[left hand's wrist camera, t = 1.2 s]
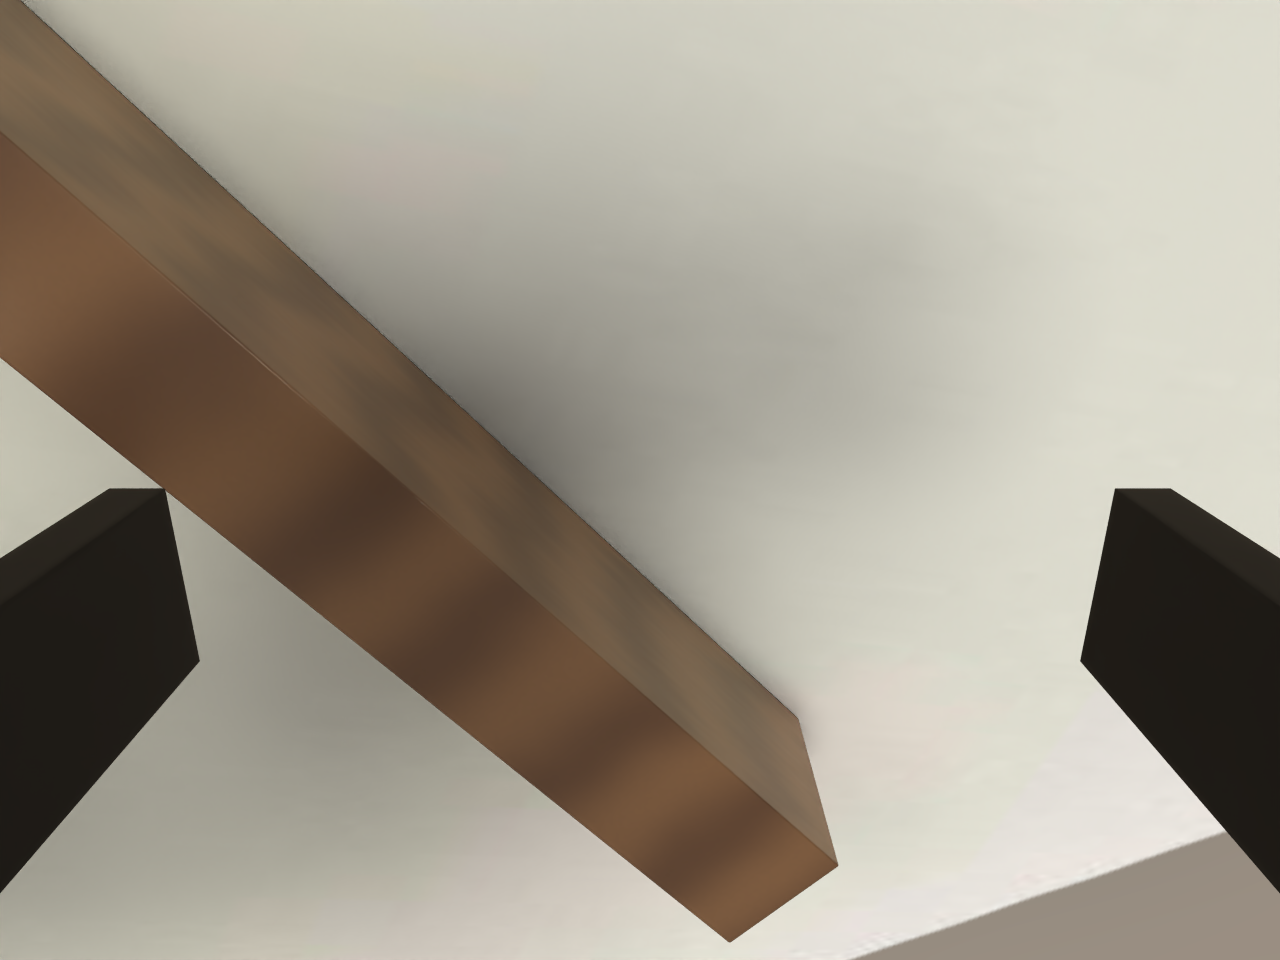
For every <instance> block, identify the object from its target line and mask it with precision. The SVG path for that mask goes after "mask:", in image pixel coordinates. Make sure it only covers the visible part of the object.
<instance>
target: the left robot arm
mask: <svg viewBox="0 0 1280 960" xmlns="http://www.w3.org/2000/svg"><path fill="white" fill-rule="evenodd" d="M199 661H200V660H199V655H198V650H197V645H196V640H195V635H194V630H193V625H192V620H191V615H190V610H189V605H188V600H187V595H186V590H185V585H184V581H183V576H182V571H181V566H180V561H179V556H178V551H177V546H176V541H175V536H174V531H173V526H172V521H171V516H170V511H169V506H168V501H167V496H166V491H165V489H108V490H106V491H105V492H103V493H102V494H100V495H99V496H97V497H95V498H94V499H92V500H91V501H89V502H88V503H86V504H84V505H83V506H81V507H80V508H78V509H77V510H75V511H74V512H72V513H70V514H69V515H67V516H66V517H64V518H63V519H61V520H59V521H58V522H56V523H55V524H53V525H52V526H50V527H49V528H47V529H45V530H44V531H42V532H41V533H39V534H38V535H36V536H34V537H33V538H31V539H30V540H28V541H27V542H25V543H24V544H22V545H20V546H19V547H17V548H16V549H14V550H13V551H11V552H9V553H8V554H6V555H5V556H3V557H2V558H0V893H1V892H2V891H3V889H4V888H5V887H6V886H7V885H8V884H9V882H10V881H11V880H12V879H13V878H14V877H15V875H16V874H17V873H18V872H19V871H20V870H21V868H22V867H23V866H24V865H25V864H26V863H27V861H28V860H29V859H30V858H31V857H32V856H33V854H34V853H35V852H36V851H37V850H38V849H39V847H40V846H41V845H42V844H43V843H44V842H45V841H46V839H47V838H48V837H49V836H50V835H51V834H52V832H53V831H54V830H55V829H56V828H57V827H58V825H59V824H60V823H61V822H62V821H63V820H64V818H65V817H66V816H67V815H68V814H69V813H70V811H71V810H72V809H73V808H74V807H75V806H76V804H77V803H78V802H79V801H80V800H81V799H82V797H83V796H84V795H85V794H86V793H87V792H88V791H89V789H90V788H91V787H92V786H93V785H94V784H95V782H96V781H97V780H98V779H99V778H100V777H101V775H102V774H103V773H104V772H105V771H106V770H107V768H108V767H109V766H110V765H111V764H112V763H113V761H114V760H115V759H116V758H117V757H118V756H119V754H120V753H121V752H122V751H123V750H124V749H125V747H126V746H127V745H128V744H129V743H130V742H131V740H132V739H133V738H134V737H135V736H136V735H137V734H138V732H139V731H140V730H141V729H142V728H143V727H144V725H145V724H146V723H147V722H148V721H149V720H150V718H151V717H152V716H153V715H154V714H155V713H156V711H157V710H158V709H159V708H160V707H161V706H162V704H163V703H164V702H165V701H166V700H167V699H168V697H169V696H170V695H171V694H172V693H173V692H174V690H175V689H176V688H177V687H178V686H179V685H180V684H181V682H182V681H183V680H184V679H185V678H186V677H187V675H188V674H189V673H190V672H191V671H192V670H193V668H194V667H195V666H196V665H197V664H198V663H199ZM1080 661H1081V663H1082V664H1083V665H1084V666H1085V667H1086V668H1087V670H1088V671H1089V672H1090V673H1091V674H1092V675H1093V677H1094V678H1095V679H1096V680H1097V681H1098V682H1099V684H1100V685H1101V686H1102V687H1103V688H1104V689H1105V690H1106V692H1107V693H1108V694H1109V695H1110V696H1111V697H1112V699H1113V700H1114V701H1115V702H1116V703H1117V704H1118V706H1119V707H1120V708H1121V709H1122V710H1123V711H1124V713H1125V714H1126V715H1127V716H1128V717H1129V718H1130V720H1131V721H1132V722H1133V723H1134V724H1135V725H1136V727H1137V728H1138V729H1139V730H1140V731H1141V732H1142V734H1143V735H1144V736H1145V737H1146V738H1147V739H1148V740H1149V742H1150V743H1151V744H1152V745H1153V746H1154V747H1155V749H1156V750H1157V751H1158V752H1159V753H1160V754H1161V756H1162V757H1163V758H1164V759H1165V760H1166V761H1167V763H1168V764H1169V765H1170V766H1171V767H1172V768H1173V770H1174V771H1175V772H1176V773H1177V774H1178V775H1179V777H1180V778H1181V779H1182V780H1183V781H1184V782H1185V784H1186V785H1187V786H1188V787H1189V788H1190V789H1191V791H1192V792H1193V793H1194V794H1195V795H1196V796H1197V797H1198V799H1199V800H1200V801H1201V802H1202V803H1203V804H1204V806H1205V807H1206V808H1207V809H1208V810H1209V811H1210V813H1211V814H1212V815H1213V816H1214V817H1215V818H1216V820H1217V821H1218V822H1219V823H1220V824H1221V825H1222V827H1223V828H1224V829H1225V830H1226V831H1227V832H1228V834H1229V835H1230V836H1231V837H1232V838H1233V839H1234V840H1235V842H1236V843H1237V844H1238V845H1239V846H1240V847H1241V849H1242V850H1243V851H1244V852H1245V853H1246V854H1247V856H1248V857H1249V858H1250V859H1251V860H1252V861H1253V863H1254V864H1255V865H1256V866H1257V867H1258V868H1259V870H1260V871H1261V872H1262V873H1263V874H1264V875H1265V877H1266V878H1267V879H1268V880H1269V881H1270V882H1271V883H1272V885H1273V886H1274V887H1275V888H1276V889H1277V891H1278V892H1279V893H1280V558H1278V557H1277V556H1275V555H1274V554H1272V553H1271V552H1269V551H1267V550H1266V549H1264V548H1263V547H1261V546H1260V545H1258V544H1256V543H1255V542H1253V541H1252V540H1250V539H1249V538H1247V537H1246V536H1244V535H1242V534H1241V533H1239V532H1238V531H1236V530H1235V529H1233V528H1231V527H1230V526H1228V525H1227V524H1225V523H1224V522H1222V521H1221V520H1219V519H1217V518H1216V517H1214V516H1213V515H1211V514H1210V513H1208V512H1206V511H1205V510H1203V509H1202V508H1200V507H1199V506H1197V505H1196V504H1194V503H1192V502H1191V501H1189V500H1188V499H1186V498H1185V497H1183V496H1181V495H1180V494H1178V493H1177V492H1175V491H1174V490H1172V489H1115V491H1114V496H1113V501H1112V506H1111V511H1110V516H1109V521H1108V526H1107V531H1106V536H1105V541H1104V546H1103V551H1102V556H1101V561H1100V566H1099V571H1098V576H1097V581H1096V585H1095V590H1094V595H1093V600H1092V605H1091V610H1090V615H1089V620H1088V625H1087V630H1086V635H1085V640H1084V645H1083V650H1082V655H1081V660H1080Z"/></svg>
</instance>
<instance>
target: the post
mask: <svg viewBox="0 0 1280 960" xmlns="http://www.w3.org/2000/svg"><path fill="white" fill-rule="evenodd" d="M0 358H1V359H3V360H4V361H5V362H6V363H8V364H9V365H10V366H11V367H13V368H14V369H15V370H16V371H18V372H19V373H20V374H21V375H23V376H24V377H25V378H26V379H28V380H29V381H30V382H31V383H33V384H34V385H35V386H36V387H38V388H39V389H40V390H41V391H43V392H44V393H45V394H46V395H48V396H49V397H50V398H51V399H52V400H54V401H55V402H56V403H57V404H59V405H60V406H61V407H62V408H64V409H65V410H66V411H67V412H69V413H70V414H71V415H72V416H74V417H75V418H76V419H77V420H79V421H80V422H81V423H82V424H84V425H85V426H86V427H87V428H89V429H90V430H91V431H92V432H94V433H95V434H96V435H97V436H99V437H100V438H101V439H102V440H104V441H105V442H106V443H107V444H109V445H110V446H111V447H112V448H114V449H115V450H116V451H117V452H119V453H120V454H121V455H122V456H124V457H125V458H126V459H127V460H129V461H130V462H131V463H132V464H133V465H135V466H136V467H137V468H138V469H140V470H141V471H142V472H143V473H145V474H146V475H147V476H148V477H150V478H151V479H152V480H153V481H155V482H156V483H157V484H158V485H160V486H161V487H162V488H163V489H165V490H166V491H167V492H168V493H170V494H171V495H172V496H173V497H175V498H176V499H177V500H178V501H180V502H181V503H182V504H183V505H185V506H186V507H187V508H188V509H190V510H191V511H192V512H193V513H195V514H196V515H197V516H198V517H200V518H201V519H202V520H203V521H205V522H206V523H207V524H208V525H210V526H211V527H212V528H213V529H214V530H216V531H217V532H218V533H219V534H221V535H222V536H223V537H224V538H226V539H227V540H228V541H229V542H231V543H232V544H233V545H234V546H236V547H237V548H238V549H239V550H241V551H242V552H243V553H244V554H246V555H247V556H248V557H249V558H251V559H252V560H253V561H254V562H256V563H257V564H258V565H259V566H261V567H262V568H263V569H264V570H266V571H267V572H268V573H269V574H271V575H272V576H273V577H274V578H276V579H277V580H278V581H279V582H281V583H282V584H283V585H284V586H286V587H287V588H288V589H289V590H291V591H292V592H293V593H294V594H295V595H297V596H298V597H299V598H300V599H302V600H303V601H304V602H305V603H307V604H308V605H309V606H310V607H312V608H313V609H314V610H315V611H317V612H318V613H319V614H320V615H322V616H323V617H324V618H325V619H327V620H328V621H329V622H330V623H332V624H333V625H334V626H335V627H337V628H338V629H339V630H340V631H342V632H343V633H344V634H345V635H347V636H348V637H349V638H350V639H352V640H353V641H354V642H355V643H357V644H358V645H359V646H360V647H362V648H363V649H364V650H365V651H367V652H368V653H369V654H370V655H372V656H373V657H374V658H375V659H377V660H378V661H379V662H380V663H381V664H383V665H384V666H385V667H386V668H388V669H389V670H390V671H391V672H393V673H394V674H395V675H396V676H398V677H399V678H400V679H401V680H403V681H404V682H405V683H406V684H408V685H409V686H410V687H411V688H413V689H414V690H415V691H416V692H418V693H419V694H420V695H421V696H423V697H424V698H425V699H426V700H428V701H429V702H430V703H431V704H433V705H434V706H435V707H436V708H438V709H439V710H440V711H441V712H443V713H444V714H445V715H446V716H448V717H449V718H450V719H451V720H453V721H454V722H455V723H456V724H458V725H459V726H460V727H461V728H462V729H464V730H465V731H466V732H467V733H469V734H470V735H471V736H472V737H474V738H475V739H476V740H477V741H479V742H480V743H481V744H482V745H484V746H485V747H486V748H487V749H489V750H490V751H491V752H492V753H494V754H495V755H496V756H497V757H499V758H500V759H501V760H502V761H504V762H505V763H506V764H507V765H509V766H510V767H511V768H512V769H514V770H515V771H516V772H517V773H519V774H520V775H521V776H522V777H524V778H525V779H526V780H527V781H529V782H530V783H531V784H532V785H534V786H535V787H536V788H537V789H539V790H540V791H541V792H542V793H543V794H545V795H546V796H547V797H548V798H550V799H551V800H552V801H553V802H555V803H556V804H557V805H558V806H560V807H561V808H562V809H563V810H565V811H566V812H567V813H568V814H570V815H571V816H572V817H573V818H575V819H576V820H577V821H578V822H580V823H581V824H582V825H583V826H585V827H586V828H587V829H588V830H590V831H591V832H592V833H593V834H595V835H596V836H597V837H598V838H600V839H601V840H602V841H603V842H605V843H606V844H607V845H608V846H610V847H611V848H612V849H613V850H615V851H616V852H617V853H618V854H620V855H621V856H622V857H623V858H624V859H626V860H627V861H628V862H629V863H631V864H632V865H633V866H634V867H636V868H637V869H638V870H639V871H641V872H642V873H643V874H644V875H646V876H647V877H648V878H649V879H651V880H652V881H653V882H654V883H656V884H657V885H658V886H659V887H661V888H662V889H663V890H664V891H666V892H667V893H668V894H669V895H671V896H672V897H673V898H674V899H676V900H677V901H678V902H679V903H681V904H682V905H683V906H684V907H686V908H687V909H688V910H689V911H691V912H692V913H693V914H694V915H696V916H697V917H698V918H699V919H701V920H702V921H703V922H704V923H705V924H707V925H708V926H709V927H710V928H712V929H713V930H714V931H715V932H717V933H718V934H719V935H720V936H722V937H723V938H724V939H725V940H727V941H728V942H732V941H733V940H734V939H736V938H737V937H739V936H740V935H742V934H743V933H744V932H746V931H747V930H749V929H750V928H751V927H753V926H754V925H756V924H757V923H759V922H760V921H761V920H763V919H764V918H766V917H767V916H768V915H770V914H771V913H773V912H774V911H775V910H777V909H778V908H780V907H781V906H783V905H784V904H785V903H787V902H788V901H790V900H791V899H792V898H794V897H795V896H797V895H798V894H799V893H801V892H802V891H804V890H805V889H807V888H808V887H809V886H811V885H812V884H814V883H815V882H816V881H818V880H819V879H821V878H822V877H823V876H825V875H826V874H828V873H829V872H831V871H832V870H833V869H835V868H836V867H838V862H837V858H836V855H835V851H834V847H833V844H832V840H831V837H830V833H829V829H828V826H827V822H826V818H825V815H824V811H823V807H822V804H821V800H820V797H819V793H818V789H817V786H816V782H815V778H814V775H813V771H812V767H811V764H810V760H809V757H808V753H807V749H806V746H805V742H804V738H803V735H802V731H801V728H800V724H799V720H798V718H797V717H795V716H794V715H793V714H792V713H791V712H790V711H789V710H788V709H787V708H786V707H785V706H784V705H782V704H781V703H780V702H779V701H778V700H777V699H776V698H775V697H774V696H773V695H772V694H771V693H769V692H768V691H767V690H766V689H765V688H764V687H763V686H762V685H761V684H760V683H759V682H758V681H756V680H755V679H754V678H753V677H752V676H751V675H750V674H749V673H748V672H747V671H746V670H745V669H743V668H742V667H741V666H740V665H739V664H738V663H737V662H736V661H735V660H734V659H733V658H732V657H730V656H729V655H728V654H727V653H726V652H725V651H724V650H723V649H722V648H721V647H720V646H719V645H717V644H716V643H715V642H714V641H713V640H712V639H711V638H710V637H709V636H708V635H707V634H706V633H704V632H703V631H702V630H701V629H700V628H699V627H698V626H697V625H696V624H695V623H694V622H693V621H691V620H690V619H689V618H688V617H687V616H686V615H685V614H684V613H683V612H682V611H681V610H680V609H679V608H677V607H676V606H675V605H674V604H673V603H672V602H671V601H670V600H669V599H668V598H667V597H666V596H664V595H663V594H662V593H661V592H660V591H659V590H658V589H657V588H656V587H655V586H654V585H653V584H651V583H650V582H649V581H648V580H647V579H646V578H645V577H644V576H643V575H642V574H641V573H640V572H638V571H637V570H636V569H635V568H634V567H633V566H632V565H631V564H630V563H629V562H628V561H627V560H625V559H624V558H623V557H622V556H621V555H620V554H619V553H618V552H617V551H616V550H615V549H614V548H612V547H611V546H610V545H609V544H608V543H607V542H606V541H605V540H604V539H603V538H602V537H601V536H599V535H598V534H597V533H596V532H595V531H594V530H593V529H592V528H591V527H590V526H589V525H588V524H586V523H585V522H584V521H583V520H582V519H581V518H580V517H579V516H578V515H577V514H576V513H575V512H573V511H572V510H571V509H570V508H569V507H568V506H567V505H566V504H565V503H564V502H563V501H562V500H560V499H559V498H558V497H557V496H556V495H555V494H554V493H553V492H552V491H551V490H550V489H549V488H547V487H546V486H545V485H544V484H543V483H542V482H541V481H540V480H539V479H538V478H537V477H536V476H534V475H533V474H532V473H531V472H530V471H529V470H528V469H527V468H526V467H525V466H524V465H523V464H521V463H520V462H519V461H518V460H517V459H516V458H515V457H514V456H513V455H512V454H511V453H510V452H508V451H507V450H506V449H505V448H504V447H503V446H502V445H501V444H500V443H499V442H498V441H497V440H495V439H494V438H493V437H492V436H491V435H490V434H489V433H488V432H487V431H486V430H485V429H484V428H482V427H481V426H480V425H479V424H478V423H477V422H476V421H475V420H474V419H473V418H472V417H471V416H469V415H468V414H467V413H466V412H465V411H464V410H463V409H462V408H461V407H460V406H459V405H458V404H456V403H455V402H454V401H453V400H452V399H451V398H450V397H449V396H448V395H447V394H446V393H445V392H443V391H442V390H441V389H440V388H439V387H438V386H437V385H436V384H435V383H434V382H433V381H432V380H430V379H429V378H428V377H427V376H426V375H425V374H424V373H423V372H422V371H421V370H420V369H419V368H417V367H416V366H415V365H414V364H413V363H412V362H411V361H410V360H409V359H408V358H407V357H406V356H404V355H403V354H402V353H401V352H400V351H399V350H398V349H397V348H396V347H395V346H394V345H393V344H391V343H390V342H389V341H388V340H387V339H386V338H385V337H384V336H383V335H382V334H381V333H380V332H379V331H377V330H376V329H375V328H374V327H373V326H372V325H371V324H370V323H369V322H368V321H367V320H366V319H364V318H363V317H362V316H361V315H360V314H359V313H358V312H357V311H356V310H355V309H354V308H353V307H351V306H350V305H349V304H348V303H347V302H346V301H345V300H344V299H343V298H342V297H341V296H340V295H338V294H337V293H336V292H335V291H334V290H333V289H332V288H331V287H330V286H329V285H328V284H327V283H325V282H324V281H323V280H322V279H321V278H320V277H319V276H318V275H317V274H316V273H315V272H314V271H312V270H311V269H310V268H309V267H308V266H307V265H306V264H305V263H304V262H303V261H302V260H301V259H299V258H298V257H297V256H296V255H295V254H294V253H293V252H292V251H291V250H290V249H289V248H288V247H286V246H285V245H284V244H283V243H282V242H281V241H280V240H279V239H278V238H277V237H276V236H275V235H273V234H272V233H271V232H270V231H269V230H268V229H267V228H266V227H265V226H264V225H263V224H262V223H260V222H259V221H258V220H257V219H256V218H255V217H254V216H253V215H252V214H251V213H250V212H249V211H247V210H246V209H245V208H244V207H243V206H242V205H241V204H240V203H239V202H238V201H237V200H236V199H234V198H233V197H232V196H231V195H230V194H229V193H228V192H227V191H226V190H225V189H224V188H223V187H221V186H220V185H219V184H218V183H217V182H216V181H215V180H214V179H213V178H212V177H211V176H210V175H208V174H207V173H206V172H205V171H204V170H203V169H202V168H201V167H200V166H199V165H198V164H197V163H195V162H194V161H193V160H192V159H191V158H190V157H189V156H188V155H187V154H186V153H185V152H184V151H182V150H181V149H180V148H179V147H178V146H177V145H176V144H175V143H174V142H173V141H172V140H171V139H169V138H168V137H167V136H166V135H165V134H164V133H163V132H162V131H161V130H160V129H159V128H158V127H156V126H155V125H154V124H153V123H152V122H151V121H150V120H149V119H148V118H147V117H146V116H145V115H143V114H142V113H141V112H140V111H139V110H138V109H137V108H136V107H135V106H134V105H133V104H132V103H130V102H129V101H128V100H127V99H126V98H125V97H124V96H123V95H122V94H121V93H120V92H119V91H117V90H116V89H115V88H114V87H113V86H112V85H111V84H110V83H109V82H108V81H107V80H106V79H104V78H103V77H102V76H101V75H100V74H99V73H98V72H97V71H96V70H95V69H94V68H93V67H92V66H90V65H89V64H88V63H87V62H86V61H85V60H84V59H83V58H82V57H81V56H80V55H79V54H77V53H76V52H75V51H74V50H73V49H72V48H71V47H70V46H69V45H68V44H67V43H66V42H64V41H63V40H62V39H61V38H60V37H59V36H58V35H57V34H56V33H55V32H54V31H53V30H51V29H50V28H49V27H48V26H47V25H46V24H45V23H44V22H43V21H42V20H41V19H40V18H38V17H37V16H36V15H35V14H34V13H33V12H32V11H31V10H30V9H29V8H28V7H27V6H25V5H24V4H23V3H22V2H21V1H20V0H0Z"/></svg>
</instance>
